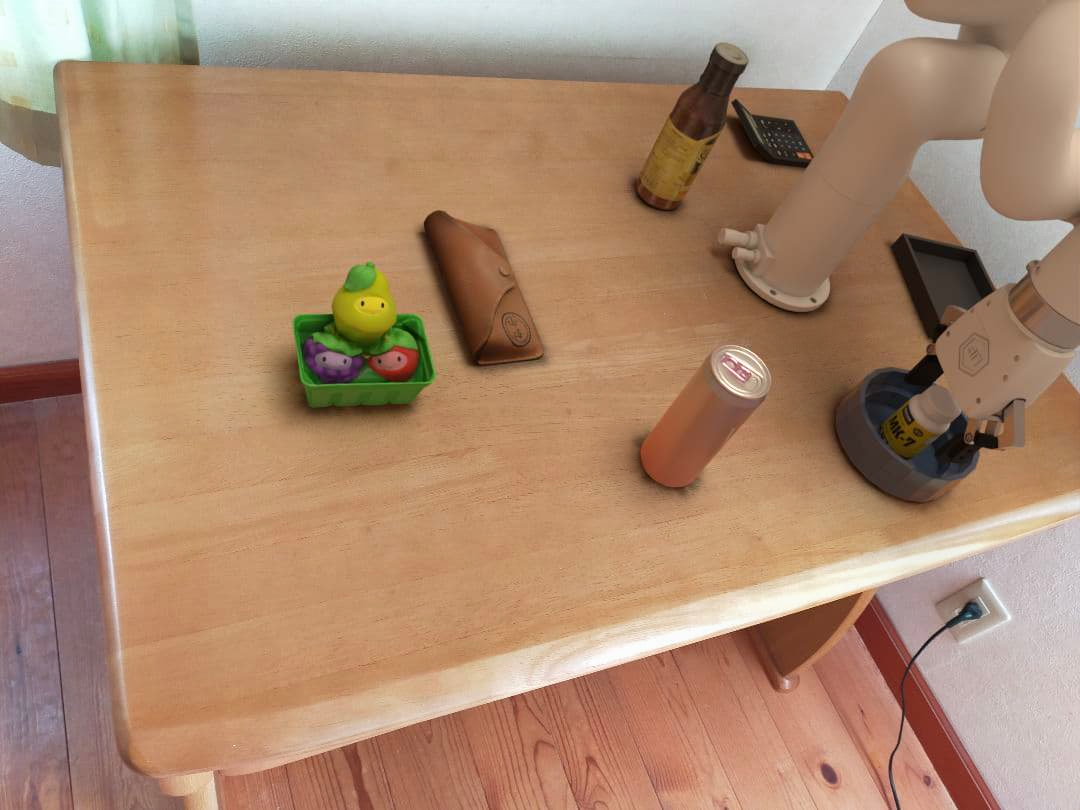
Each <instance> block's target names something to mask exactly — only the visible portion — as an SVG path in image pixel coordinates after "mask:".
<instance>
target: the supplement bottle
mask: <svg viewBox="0 0 1080 810" xmlns="http://www.w3.org/2000/svg"><path fill="white" fill-rule="evenodd" d="M960 413H961V409H960V407H959V405H958V403H957V401H956V399H955V396H954V394H953V392H952V390H950V389H948V388H947V387H944V386H943V385H938V384H936V385H933V386H931V387H929V388H928V389H927V390H925V391H924V392H923V393H922V394H918V395H915V396H913V397H912V398H911V399H910V400H909V401H907V402H906V403H905V404H904V405H903V406H902V407H901V408H900V409H898V410H897V411H896V412H895V413H894V414H893V415H892V416H890V417H889V418H888V419H887V420H886V421H885V422H884V423H883V424H881V425H880V426H879V428H878V429H877V433H878V434H879V436H880V437H881V439H882V440H883V441H884V442H885V443H886V444H887V445H888V446H889V447H890V448H891V449H892V450H893V451H894V452H895V453H896V454H897V455H899V456H900V457H901V458H903V459H904V460H906V461H908V460H910V459H912V458H913V457H914V456H915V455H917V454H918V453H919V452H921V451H922V450H923V449H924V448H926V447H927V446H928V445H929V444H931V443H932V442H933V441H934V440H936V439H937V438H938V437H939V436H941V435H942V434H943V433H944V432H946V431H947V429H948V428H949V426H950V423H951V422H952V421H953V420H954V419H955V418H957V417H958V416H959V415H960Z"/></svg>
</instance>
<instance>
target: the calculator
mask: <svg viewBox="0 0 1080 810" xmlns="http://www.w3.org/2000/svg"><path fill="white" fill-rule="evenodd" d="M731 105H732V108H733V109H734V111H735V113H736V115H737V117H738V119H739V121H740V123H741V125H742V127H743V128H744V131H745V133H746V134H747V136H748V138H749V140H750V142H751V144H752V146H753V148H754V149H755V150H756V151H758V153H760V154H761V156H762V157H764V158H765V159H766V160H767V161H768V162H769V163H770V164H772V165H773V164H774V165H780V166H781V165H782V166H788V167H798V168H805V169H806V168H807V167H808V165H809V164H810V162H811V161H812V160H813V158H814V157H815V155H814V154H813V152H812V151H811V149H810V147H809V145H808V144H807V142H806V140H805V138H804V136H803V134H802V133H801V130H799V127H798V126H797V124H796V122H795V121H794V120H793V119H788V118H787V119H786V118H779V117H774V116H767V115H766V116H765V115H759V114H753V113H751V112H750V111H749V110H748V109H747V108H746V107H745V106H744V105H743V104H742V103H741V102H740V101H739V100H738V99H737V98H734V99H733V100H732V101H731Z"/></svg>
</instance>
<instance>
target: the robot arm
mask: <svg viewBox="0 0 1080 810" xmlns="http://www.w3.org/2000/svg"><path fill="white" fill-rule="evenodd" d="M903 2H904V4H905V7H906V8H907V9H908V10H909V12H911V14H913V15H915V16H917V17H919V18H921V19H924V20H928V21H931V22H936V23H942V24H951V25H959V30H958V33H957V38H956V39H954V38H944V37H932V36H916V37H909V38H904V39H900V40H897V41H894V42H891V43H890V44H887V45H886V46H884V47H883V48H882V49H880V50H878V52H877V53H875V54H874V55H873V56H872V58H870V60H869V61H868V63H867V64H866V65H865V67H864V68H863V70H862V72H861V74H860V76H859V78H858V80H857V81H856V85H855V87H854V89H853V91H852V93H851V96H850V98H849V100H848V102H847V104H846V105H845V108H844V110H843V112H842V114H841V116H840V117H839V119H838V120H837V122H836V124H835V125H834V126H833V128H832V130H831V132H830V133H829V135H828V136H827V137H826V139H825V140H824V141H823V143H822V145H821V146H820V148H819V149H818V151H817V152H816V153H815V155H814V158H813V160H812V161H811V162H810V164H809V165H808V167H807V168H805V170H803V172H802V174H801V175H800V176H799V178H798V179H797V181H796V182H795V184H794V185H793V186H792V188H791V189H790V191H789V192H788V194H787V195H786V196H785V198H784V199H783V201H782V202H781V204H780V205H779V206H778V208H777V209H776V210H775V212H774V213H773V214H772V216H771V218H770V219H769V221H768V222H767V223H766V224H762V223H757V224H756V225H755V227H754V229H753V230H745V231H744V232H742V231H738V230H736V229H732V228H727V227H722V228H721V229H720V230H719V231H718V234H717V243H718V244H719V245H724V246H728V247H733V249H732V251H731V258H732V259H733V260H734V263H735V266H736V269H737V271H738V274H739V276H740V277H741V278H742V280H743V281H744V282H745V284H746V285H747V286H748V287H749V288H750V289H751V290H752V291H753V292H754V293H755V294H757V296H759V297H760V298H761V299H763V300H764V301H766V302H767V303H769V304H772V305H773V306H775V307H778V308H780V309H784V310H786V311H789V312H790V311H791V312H796V313H808V312H812V311H815V310H817V309H819V308H820V307H822V305H823V304H825V302H826V300H827V299H828V298H829V296H830V293H831V281H830V276H831V274H832V273H833V272H834V270H835V269H836V268H837V267H838V266H839V264H841V263H842V261H843V260H844V259H845V257H847V256H848V254H849V252H850V251H851V250H852V249H853V248H854V247H855V245H856V244H857V243H858V242H859V240H861V238H862V237H863V235H864V234H865V233H866V232H867V231H868V229H869V228H871V226H872V224H873V223H874V222H875V221H876V220H877V218H879V216H880V215H881V214H882V213H883V211H885V209H886V208H887V207H888V205H889V204H890V203H891V201H892V200H893V199H894V198H895V197H896V195H897V194H898V193H899V192H900V190H901V189H902V187H903V186H904V184H905V183H906V181H907V180H908V178H909V176H910V173H911V171H912V169H913V165H914V161H915V158H916V155H917V153H918V151H919V150H920V148H921V147H922V146H923V145H924V144H926V143H928V142H931V141H935V142H936V141H975V140H982V144H981V151H980V161H979V179H980V186H981V187H980V188H981V191H982V193H983V196H984V197H983V198H984V199H985V201H986V202H987V204H988V205H989V207H990V208H991V209H993V210H994V212H996V213H997V214H999V215H1001V216H1003V217H1005V218H1006V219H1010V220H1013V221H1017V222H1038V221H1041V222H1042V221H1043V222H1044V221H1057V220H1058V221H1061V222H1065V223H1068V224H1071V225H1072V226H1073V228H1072V229H1071V230H1070V231H1069V232H1068V233H1067V234H1066V235H1065V236H1064V237H1063V238H1062V239H1061V240H1060V241H1059V242H1058V243H1057V244H1055V246H1054V247H1053V248H1052V249H1051V250H1050V251H1049V252H1048V253H1047V254H1046V255H1045V256H1044V257H1042V258H1041V260H1040V259H1033V260H1031V261H1030V262H1028V263H1026V265H1025V269H1026V271H1027V273H1026V274H1025V275H1024V276H1023V277H1022V278H1021V279H1020V280H1019V281H1018V282H1017V283H1015V282H1009V283H1006V284H1005V285H1002V286H1001V287H999V288H998V289H995V290H996V291H994V292H993V293H991V294H990V295H988V296H987V297H985V298H984V299H982V300H981V301H980V302H978V303H977V304H976V305H974V306H973V307H972V308H970V309H969V310H968V311H967V310H965V309H963V308H961V307H958V306H953V305H948V306H947V307H946V309H945V312H944V314H943V316H942V318H941V320H940V321H941V323H940V324H938V325H937V326H936V327H935V331H934V336H933V338H932V341H931V342H930V343H928V344H927V345H926V346H925V347H926V348H925V354H926V355H924V356H923V357H922V358H921V359H920V360H919V361H918V362H917V363H916V364H915V365H914V366H913V367H912V368H911V370H910V369H909V370H910V371H909V372H908V373H907V374H906V375H905V376H904V381H905V383H907V384H911V385H918V386H924V387H929V386H931V385H932V384H933V383H935V382H936V381H938V379H939V378H940V377H941V376H942V375H944V376H945V378H946V380H947V383H948V384H949V385H948V386H949V387H950V389H951V390H950V391H951V392H952V393H953V394H954V396H955V399H956V401H957V403H958V405H959V407H960V409H961V411H962V412H963V414H964V415H965V416H967V417H968V418H969V421H968V424H967V428H966V431H965V433H957V434H956V435H955V436H953V437H952V438H951V439H950V440H949V441H948V442H946V443H945V444H944V445H943V446H942V447H940V448H939V449H938V450H937V451H936V452H935V454H934V456H935V458H936V460H940V461H947V462H952V463H962V462H964V461H966V460H967V459H968V458H970V457H971V456H972V455H973V454H975V453H976V452H977V451H978V450H979V451H980V450H981V449H982V448H983V449H986V450H987V449H988V450H994V451H999V452H1000V451H1001V452H1004V451H1007V450H1008V451H1010V450H1017V449H1022V448H1024V447H1025V445H1026V416H1025V415H1026V414H1025V410H1026V409H1027V408H1028V407H1029V406H1031V404H1033V403H1034V402H1035V401H1036V400H1037V399H1038V398H1039V397H1040V396H1042V394H1043V393H1044V392H1045V391H1046V390H1047V389H1048V388H1049V387H1050V386H1051V385H1053V383H1054V382H1055V381H1056V379H1058V377H1060V376H1061V374H1062V373H1063V372H1064V370H1065V369H1066V368H1067V367H1068V366H1069V364H1070V363H1071V362H1072V360H1073V359H1074V358H1075V356H1076V351H1075V350H1076V349H1077V348H1078V347H1079V346H1080V127H1079V128H1075V126H1076V120H1077V117H1078V111H1079V109H1080V0H903ZM983 421H987V422H986V426H985V429H984V432H981V428H982V425H983ZM1002 424H1003V432H1002V433H1001V434H999V433H1000V430H1001V427H1002Z"/></svg>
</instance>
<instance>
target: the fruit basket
mask: <svg viewBox="0 0 1080 810" xmlns="http://www.w3.org/2000/svg"><path fill="white" fill-rule="evenodd" d="M375 267H376V265H375V263H374V262H371V261H367V262H366V263H365V264H356V265H354V266H352V267H351V268H350V269H349V271H348V273H347V275H346V278H345V282H344V283H343V285H341V286H340V288H339V289H338V290H337V291H336V293H335V294H334V297H333V298H332V299H333V300H332V302H331V313H300V314H297V315H295V316H294V317H293V318H292V321H291V325H292V331H293V337H294V342H295V349H296V355H297V361H298V362H297V363H298V371H299V378H300V381H301V384H302V386H303V388H304V392H305V396H306V401H307V405H308V406H309V407H310V408H311V409H312V408H328V407H331V406H334V407H356V406H359V405H364V406H383V405H386V404H392V405H409V404H410V403H411V402H413V400H414V399H415V398H416V397H417V396H418V395H419V394H420V393H421V392H422V391H423V390H424V389H425V388H426V387H427V388H428V387H429V386H430V385H431V384H432V383H434V381H435V380H436V379H437V373H436V369H435V364H434V361H433V357H432V356H433V355H432V353H431V350H430V344H429V340H428V336H427V332H426V327H425V323H424V320H423V318H421V317H420V316H419V315H418V314H415V313H397V312H398V311H397V305H396V303H395V299H394V297H393V295H392V293H391V289H390V282H389V278H388V277H387V276H386V274H384V273H383V272H382V271H380V270H379V269H378V268H375Z"/></svg>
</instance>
